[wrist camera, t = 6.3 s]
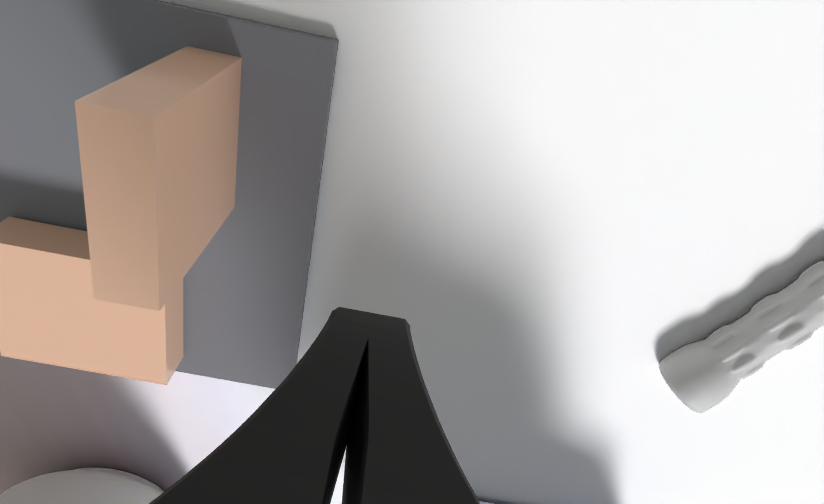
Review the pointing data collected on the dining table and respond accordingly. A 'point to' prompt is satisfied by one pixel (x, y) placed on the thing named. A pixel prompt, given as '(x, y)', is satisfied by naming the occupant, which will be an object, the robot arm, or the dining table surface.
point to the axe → (746, 342)
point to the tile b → (158, 171)
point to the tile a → (77, 310)
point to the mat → (255, 172)
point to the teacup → (83, 488)
